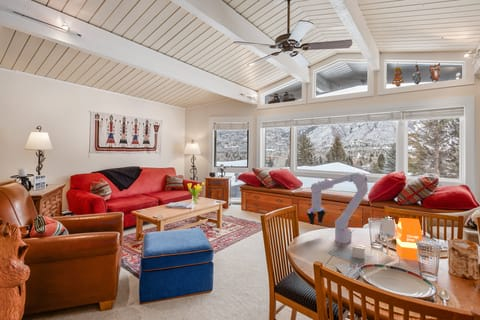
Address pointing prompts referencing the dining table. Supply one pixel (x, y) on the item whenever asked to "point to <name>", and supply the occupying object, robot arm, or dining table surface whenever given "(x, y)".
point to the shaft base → (348, 255)
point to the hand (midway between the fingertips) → (316, 223)
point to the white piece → (358, 251)
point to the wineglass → (388, 230)
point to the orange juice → (408, 238)
